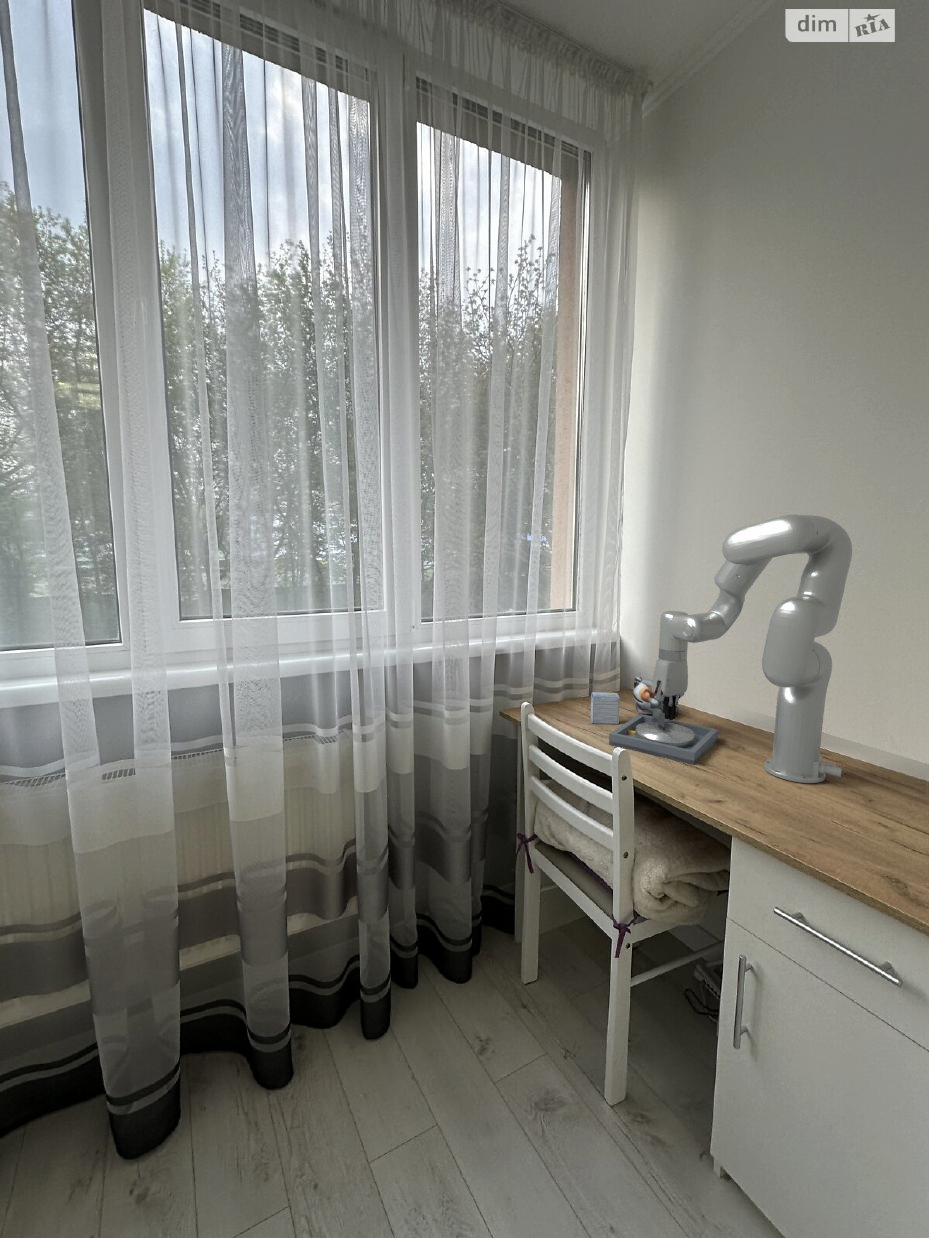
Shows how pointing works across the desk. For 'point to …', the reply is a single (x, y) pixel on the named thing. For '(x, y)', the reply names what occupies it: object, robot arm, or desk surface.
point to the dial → (664, 731)
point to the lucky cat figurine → (646, 697)
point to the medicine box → (605, 708)
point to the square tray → (688, 754)
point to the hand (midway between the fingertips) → (669, 718)
